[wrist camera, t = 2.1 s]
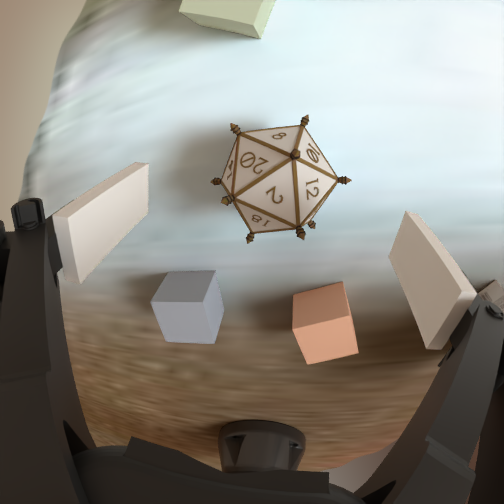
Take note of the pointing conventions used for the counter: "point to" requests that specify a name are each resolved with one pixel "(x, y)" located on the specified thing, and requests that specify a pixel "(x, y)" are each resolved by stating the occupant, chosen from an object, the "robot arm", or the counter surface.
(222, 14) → the sage cube
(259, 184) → the game die
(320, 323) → the terracotta cube
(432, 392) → the robot arm
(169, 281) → the slate cube
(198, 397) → the counter surface
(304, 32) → the counter surface
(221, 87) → the counter surface
